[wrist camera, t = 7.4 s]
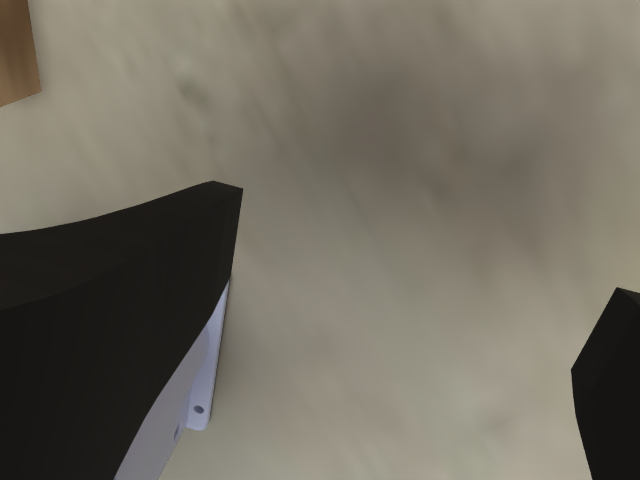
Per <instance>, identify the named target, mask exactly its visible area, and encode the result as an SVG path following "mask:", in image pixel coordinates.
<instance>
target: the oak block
mask: <svg viewBox="0 0 640 480" xmlns="http://www.w3.org/2000/svg"><path fill="white" fill-rule="evenodd" d="M40 91H41V87H40V80H39V74H38V67H37V61H36V54H35V48H34V41H33V35H32V28H31V22H30V15H29V9H28V2H27V0H0V107H2V106H4V105H7V104H9V103H12V102H14V101H17V100H19V99H22V98H25V97H27V96H30V95H32V94H35V93H37V92H40Z"/></svg>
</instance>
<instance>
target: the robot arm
mask: <svg viewBox="0 0 640 480" xmlns="http://www.w3.org/2000/svg"><path fill="white" fill-rule="evenodd" d="M242 194H243V188H239V187H235V186H231V185H228V184H224V183H220V182H216V181H209V182H205V183H202V184H198V185H195V186H192V187H189V188H186V189H183V190H181V191H178V192H175V193H172V194H169V195H166V196H163V197H160V198H157V199H155V200H152V201H149V202H146V203H143V204H140V205H136V206H133V207H130V208H126V209H123V210H119V211H116V212H112V213H109V214H105V215H102V216H99V217H95V218H91V219H87V220H83V221H78V222H74V223H69V224H64V225H59V226H54V227H48V228H43V229H37V230H31V231H23V232H15V233H6V234H0V480H158V478H159V476H160V474H161V473H162V471H163V469H164V467H165V465H166V463H167V461H168V459H169V457H170V455H171V453H172V451H173V449H174V447H175V446H176V444H177V442H178V440H179V438H180V436H181V434H182V432H183V430H184V428H185V427H187V428H190V429H194V430H198V431H201V430H204V429H206V427H207V425H208V423H209V419H210V412H211V405H212V398H213V391H214V384H215V377H216V370H217V363H218V356H219V349H220V342H221V336H222V329H223V322H224V315H225V308H226V301H227V294H228V287H229V279H230V276H231V270H232V263H233V256H234V249H235V242H236V235H237V228H238V221H239V215H240V208H241V201H242ZM571 375H572V387H573V398H574V406H575V414H576V419H577V423H578V427H579V431H580V435H581V439H582V443H583V446H584V450H585V454H586V458H587V461H588V465H589V469H590V472H591V476H592V479H593V480H640V293H637V292H633V291H629V290H626V289H622V288H618V287H616V289H615V291H614V293H613V295H612V296H611V298H610V300H609V302H608V304H607V306H606V307H605V309H604V311H603V313H602V315H601V316H600V318H599V320H598V322H597V324H596V325H595V327H594V329H593V331H592V333H591V334H590V336H589V338H588V340H587V342H586V344H585V345H584V347H583V349H582V351H581V353H580V354H579V356H578V358H577V360H576V362H575V363H574V365H573V367H572V369H571ZM199 406H201V407H202V408H201V407H199Z"/></svg>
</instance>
